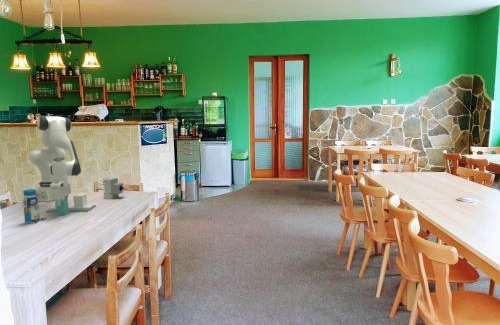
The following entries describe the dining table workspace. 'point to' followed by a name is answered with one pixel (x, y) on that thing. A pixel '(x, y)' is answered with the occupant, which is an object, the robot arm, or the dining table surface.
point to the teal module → (62, 208)
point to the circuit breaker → (112, 188)
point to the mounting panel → (75, 204)
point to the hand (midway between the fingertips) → (62, 203)
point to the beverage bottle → (31, 206)
